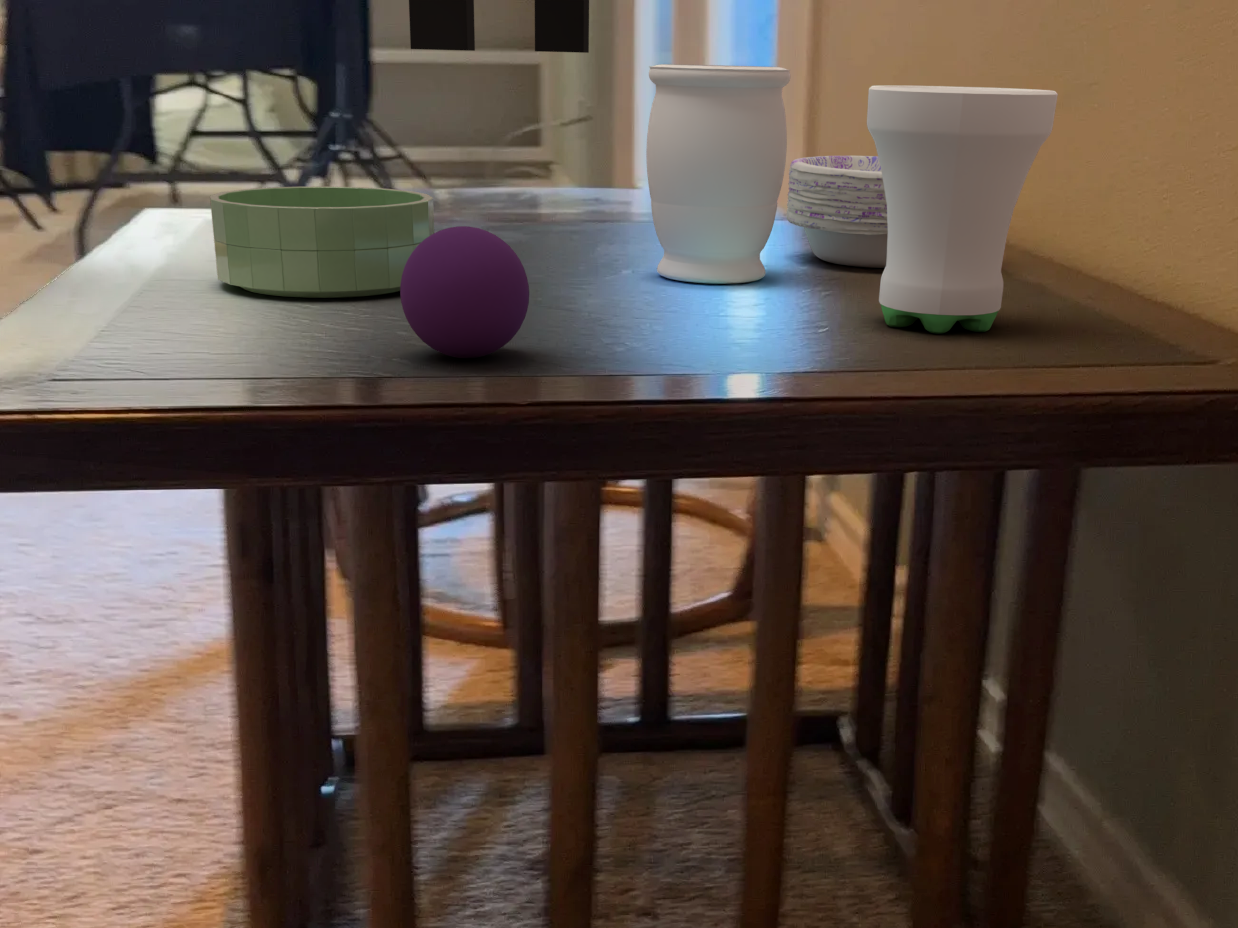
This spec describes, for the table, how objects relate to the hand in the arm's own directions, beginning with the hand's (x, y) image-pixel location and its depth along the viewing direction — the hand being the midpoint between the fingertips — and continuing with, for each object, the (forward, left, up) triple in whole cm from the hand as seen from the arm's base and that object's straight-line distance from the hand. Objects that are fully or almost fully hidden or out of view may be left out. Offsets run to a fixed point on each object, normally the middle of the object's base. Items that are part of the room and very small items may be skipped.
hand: (507, 52), depth 65 cm
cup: (+18, +26, -16) cm, 36 cm away
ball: (-5, +4, -16) cm, 17 cm away
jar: (-1, +39, -16) cm, 42 cm away
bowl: (-25, +23, -16) cm, 37 cm away
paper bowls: (+9, +54, -16) cm, 57 cm away
